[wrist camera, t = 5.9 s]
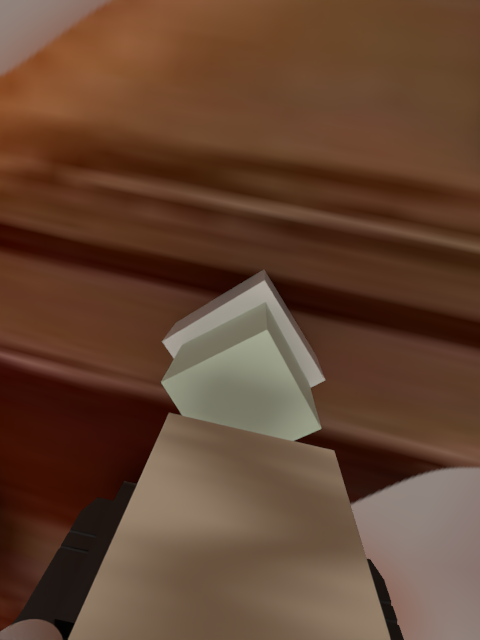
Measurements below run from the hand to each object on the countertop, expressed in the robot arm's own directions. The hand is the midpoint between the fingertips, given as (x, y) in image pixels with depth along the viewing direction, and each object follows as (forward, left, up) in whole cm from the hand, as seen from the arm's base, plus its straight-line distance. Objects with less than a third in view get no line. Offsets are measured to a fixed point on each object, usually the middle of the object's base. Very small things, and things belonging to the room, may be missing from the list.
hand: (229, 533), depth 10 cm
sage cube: (0, 0, -13) cm, 13 cm away
